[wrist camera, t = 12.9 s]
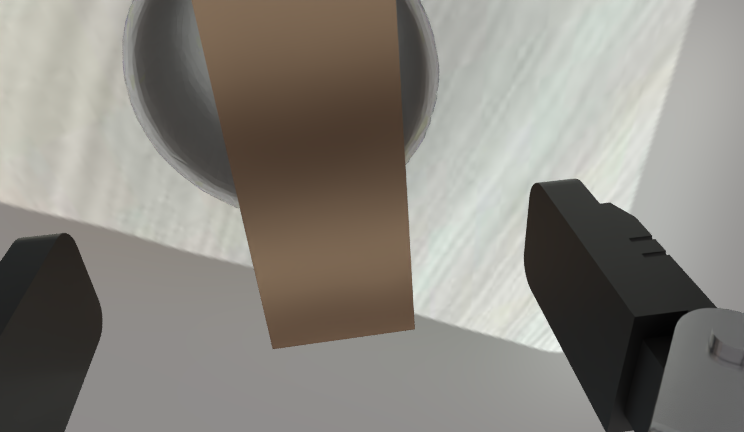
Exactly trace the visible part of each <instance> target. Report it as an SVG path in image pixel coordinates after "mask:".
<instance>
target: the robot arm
mask: <svg viewBox="0 0 744 432" xmlns="http://www.w3.org/2000/svg"><path fill="white" fill-rule="evenodd" d="M524 266H525V273H526V277H527V281H528V284H529V287H530V289H531V291H532V293H533V295H534V296H535V298H536V300H537V302H538V304H539V306H540V308H541V310H542V312H543V314H544V315H545V317H546V319H547V321H548V323H549V325H550V327H551V329H552V331H553V333H554V334H555V336H556V338H557V340H558V342H559V344H560V346H561V348H562V350H563V352H564V353H565V355H566V357H567V359H568V361H569V363H570V365H571V367H572V369H573V371H574V372H575V374H576V376H577V378H578V380H579V382H580V384H581V386H582V388H583V390H584V391H585V393H586V395H587V397H588V399H589V401H590V403H591V405H592V407H593V409H594V411H595V412H596V414H597V416H598V418H599V420H600V422H601V424H602V426H603V427H604V429H605V431H606V432H625V431H632V430H634V432H744V313H741V312H738V311H734V310H729V309H721V308H717V307H716V306H715V305H714V304H713V303H712V302H711V301H710V300H709V298H708V297H707V296H706V295H705V294H704V293H703V292H702V291H701V289H700V288H699V287H698V286H697V285H696V284H695V283H694V282H693V281H692V279H691V278H689V276H688V275H687V274H686V273H685V272H684V271H683V269H682V268H681V267H680V266H679V265H678V264H677V263H676V262H675V261H674V260H673V258H672V257H671V256H670V255H666V251H665V250H664V248H663V247H662V246H661V245H660V244H659V243H658V242H657V241H656V239H652V235H651V234H650V233H649V232H648V231H647V229H646V228H645V227H644V226H643V225H642V224H641V223H640V222H639V221H638V219H636V218H635V217H634V216H632V215H631V214H629V213H627V212H625V211H624V210H622V209H620V208H618V207H617V206H615V205H613V204H611V203H603V204H600V203H599V202H598V201H597V200H596V199H595V197H594V196H593V195H592V194H591V193H590V192H589V190H588V189H587V188H586V187H585V186H584V184H583V183H582V182H581V181H580V180H578V179H568V180H559V181H550V182H541V183H535V184H534V185H533V186H532V188H531V192H530V197H529V208H528V218H527V228H526V238H525V249H524ZM101 332H102V311H101V306H100V303H99V300H98V297H97V295H96V293H95V290H94V287H93V285H92V282H91V280H90V277H89V275H88V272H87V270H86V267H85V265H84V262H83V260H82V257H81V255H80V252H79V250H78V247H77V245H76V243H75V241H74V239H73V238H72V237H71V236H70V235H69V234H67V233H61V234H52V235H43V236H34V237H25V238H19V239H17V240H15V241H14V243H13V244H12V245H11V247H10V248H9V250H8V251H7V253H6V254H5V256H4V257H3V258H2V260H1V261H0V432H64V431H65V429H66V426H67V424H68V421H69V418H70V416H71V413H72V411H73V408H74V405H75V403H76V400H77V397H78V395H79V392H80V390H81V387H82V384H83V382H84V379H85V377H86V374H87V371H88V369H89V366H90V364H91V361H92V358H93V356H94V353H95V350H96V348H97V345H98V342H99V340H100V337H101Z"/></svg>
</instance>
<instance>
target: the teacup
mask: <svg viewBox="0 0 744 432" xmlns="http://www.w3.org/2000/svg"><path fill="white" fill-rule="evenodd" d="M396 10H397V28H398V45H399V63H400V80H401V98H402V115H403V133H404V150H405V165H406V164H407V163H408V162H409V160H410V158H411V157H412V155H413V154H414V153H415V151H416V150H417V148H418V147H419V145H420V144H421V142H422V140H423V139H424V137H425V134H426V131H427V129H428V127H429V125H430V121H431V115H432V113H433V111H434V106H435V103H436V99H437V95H436V93H437V90H438V83H439V63H438V57H437V51H436V46H435V41H434V35H433V32H432V29H431V26H430V23H429V20H428V17H427V15H426V13H425V11H424V9H423V6H422V4H421V2H420V0H396ZM123 70H124V78H125V83H126V86H127V90H128V94H129V98H130V102H131V105H132V107H133V110H134V112H135V115H136V117H137V119H138V121H139V123H140V125H141V126H142V128H143V130H144V132H145V133H146V135H147V137H148V138H149V140H150V141H151V143H152V144H153V146H154V147H155V148H156V150H157V151H158V152H159V154H160V155H161V156H162V157H163V158H164V159H165V160H166V161H167V162H168V163H169V164H170V165H171V166H172V167H173V168H174V169H175V170H176V171H177V172H178V173H180V174H181V175H182V176H183V177H185V178H186V179H187V180H189V181H190V182H192V183H193V184H194V185H196V186H197V187H198V188H200V189H201V190H202V191H204V192H206V193H208V194H210V195H212V196H214V197H216V198H218V199H220V200H221V201H223V202H226V203H228V204H230V205H232V206H234V207H236V208H240V206H239V202H238V198H237V194H236V189H235V185H234V181H233V176H232V172H231V168H230V164H229V159H228V155H227V151H226V146H225V142H224V138H223V134H222V129H221V125H220V121H219V116H218V112H217V108H216V104H215V99H214V95H213V91H212V86H211V82H210V78H209V74H208V69H207V65H206V61H205V56H204V52H203V48H202V44H201V39H200V35H199V31H198V26H197V22H196V18H195V14H194V9H193V5H192V1H191V0H133V2H132V4H131V6H130V9H129V12H128V15H127V19H126V22H125V29H124V36H123Z"/></svg>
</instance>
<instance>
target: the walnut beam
mask: <svg viewBox="0 0 744 432" xmlns="http://www.w3.org/2000/svg"><path fill="white" fill-rule="evenodd" d="M191 1H192V5H193V9H194V14H195V18H196V22H197V26H198V31H199V35H200V39H201V44H202V48H203V52H204V56H205V61H206V65H207V69H208V74H209V78H210V82H211V86H212V91H213V95H214V99H215V104H216V108H217V112H218V116H219V121H220V125H221V129H222V134H223V138H224V142H225V146H226V151H227V155H228V159H229V164H230V168H231V172H232V176H233V181H234V185H235V189H236V194H237V198H238V202H239V206H240V211H241V215H242V219H243V224H244V228H245V232H246V236H247V241H248V245H249V249H250V254H251V258H252V262H253V266H254V270H255V275H256V279H257V283H258V288H259V292H260V296H261V301H262V305H263V309H264V313H265V318H266V322H267V326H268V330H269V335H270V339H271V344H272V348H273V349H277V348H284V347H291V346H298V345H306V344H313V343H319V342H327V341H334V340H341V339H349V338H356V337H363V336H370V335H377V334H384V333H391V332H398V331H406V330H413V329H415V325H414V307H413V290H412V272H411V255H410V237H409V220H408V202H407V185H406V167H405V150H404V133H403V115H402V98H401V80H400V63H399V45H398V28H397V10H396V0H191Z"/></svg>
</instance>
